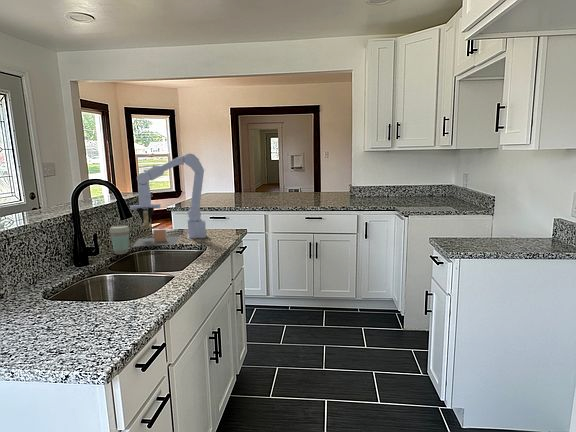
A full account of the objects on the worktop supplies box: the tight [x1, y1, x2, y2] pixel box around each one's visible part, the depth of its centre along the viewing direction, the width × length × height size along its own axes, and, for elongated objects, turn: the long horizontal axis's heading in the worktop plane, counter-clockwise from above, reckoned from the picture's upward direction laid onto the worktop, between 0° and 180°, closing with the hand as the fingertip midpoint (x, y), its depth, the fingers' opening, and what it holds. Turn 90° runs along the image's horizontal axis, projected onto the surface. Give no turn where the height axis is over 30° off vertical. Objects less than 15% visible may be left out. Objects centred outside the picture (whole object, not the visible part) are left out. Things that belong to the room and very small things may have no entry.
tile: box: [153, 228, 168, 242], centre depth 194 cm, size 6×2×6 cm, turn 102°
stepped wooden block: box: [141, 211, 152, 229], centre depth 197 cm, size 4×4×8 cm
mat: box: [131, 236, 179, 248], centre depth 194 cm, size 20×18×1 cm
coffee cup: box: [109, 225, 130, 255], centre depth 173 cm, size 8×8×12 cm
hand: (146, 222), depth 198 cm, fingers closed on stepped wooden block, 2 cm apart
